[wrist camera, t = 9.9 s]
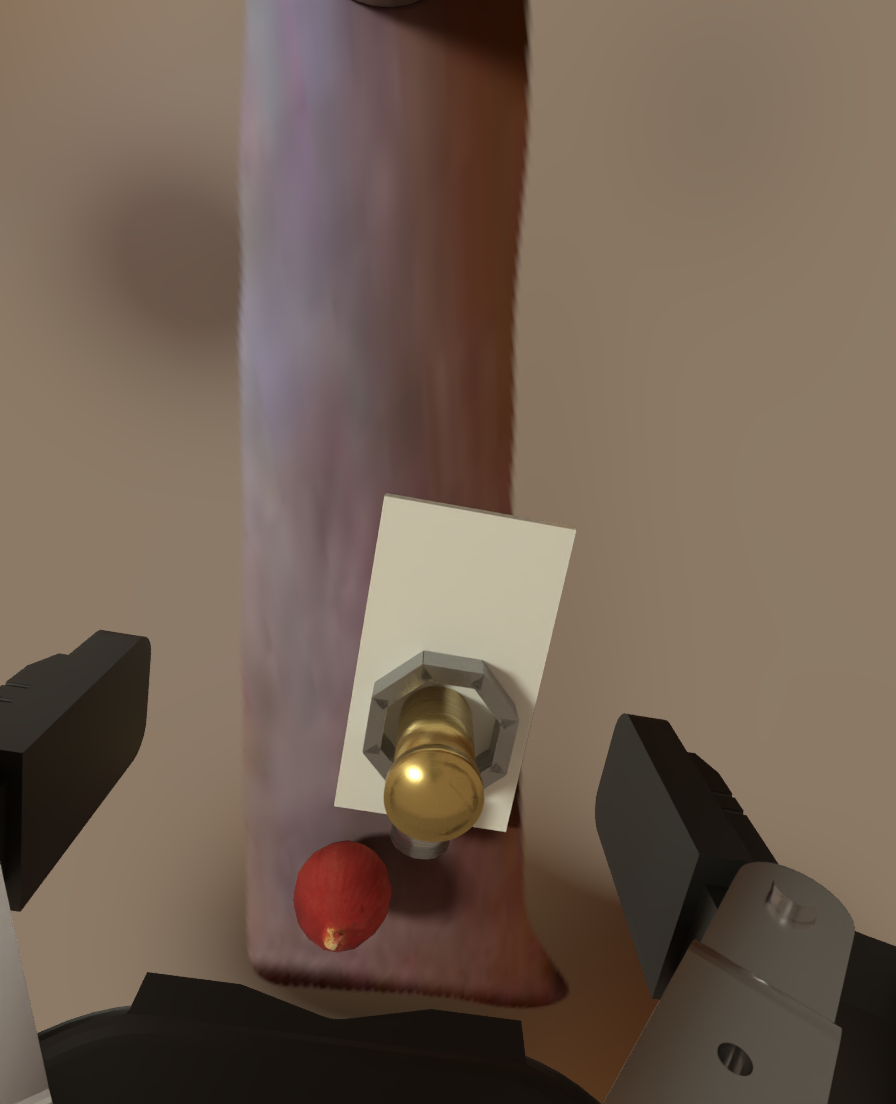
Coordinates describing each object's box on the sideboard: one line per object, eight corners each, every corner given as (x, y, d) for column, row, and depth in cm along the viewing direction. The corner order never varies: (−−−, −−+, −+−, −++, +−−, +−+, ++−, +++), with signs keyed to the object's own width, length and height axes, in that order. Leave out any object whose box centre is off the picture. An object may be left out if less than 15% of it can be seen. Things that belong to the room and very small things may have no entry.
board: (385, 492, 40) (384, 495, 39) (573, 526, 41) (576, 530, 40) (336, 796, 45) (334, 806, 44) (504, 822, 46) (505, 832, 45)
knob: (401, 675, 42) (391, 747, 34) (484, 688, 42) (492, 762, 34) (388, 749, 43) (376, 834, 35) (469, 761, 43) (474, 848, 36)
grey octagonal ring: (381, 643, 41) (376, 668, 38) (524, 666, 42) (531, 693, 38) (352, 810, 44) (345, 848, 41) (487, 830, 45) (491, 869, 41)
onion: (401, 883, 47) (394, 985, 39) (316, 896, 47) (292, 1000, 39) (385, 807, 45) (374, 898, 38) (297, 821, 45) (268, 914, 38)
